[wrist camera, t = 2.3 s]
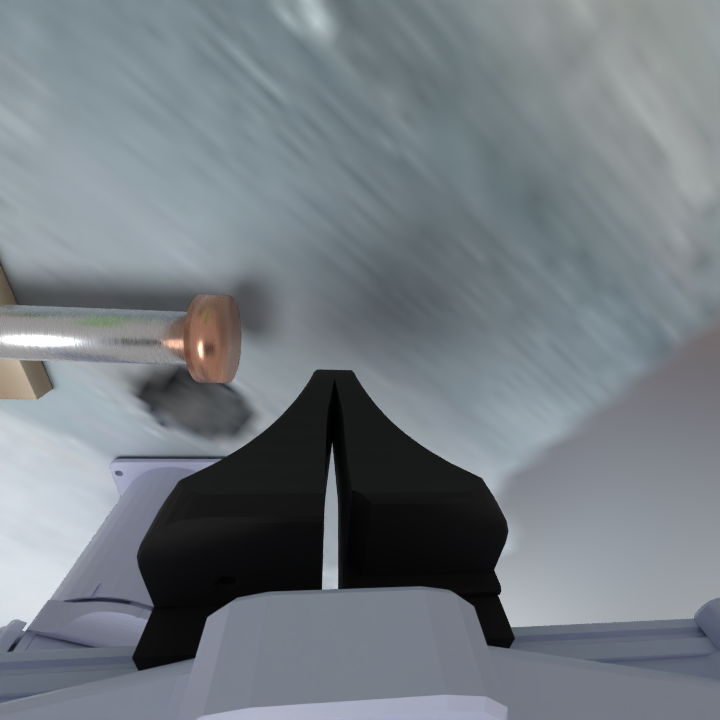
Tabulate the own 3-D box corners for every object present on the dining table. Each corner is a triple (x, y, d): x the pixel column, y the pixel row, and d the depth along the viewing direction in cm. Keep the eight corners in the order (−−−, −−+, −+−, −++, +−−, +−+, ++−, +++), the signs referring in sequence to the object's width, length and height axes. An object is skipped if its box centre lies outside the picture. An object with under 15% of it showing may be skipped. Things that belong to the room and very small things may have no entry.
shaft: (236, 285, 16) (209, 313, 12) (244, 358, 18) (221, 400, 14) (-192, 264, 14) (-364, 289, 11) (-135, 347, 16) (-267, 392, 13)
